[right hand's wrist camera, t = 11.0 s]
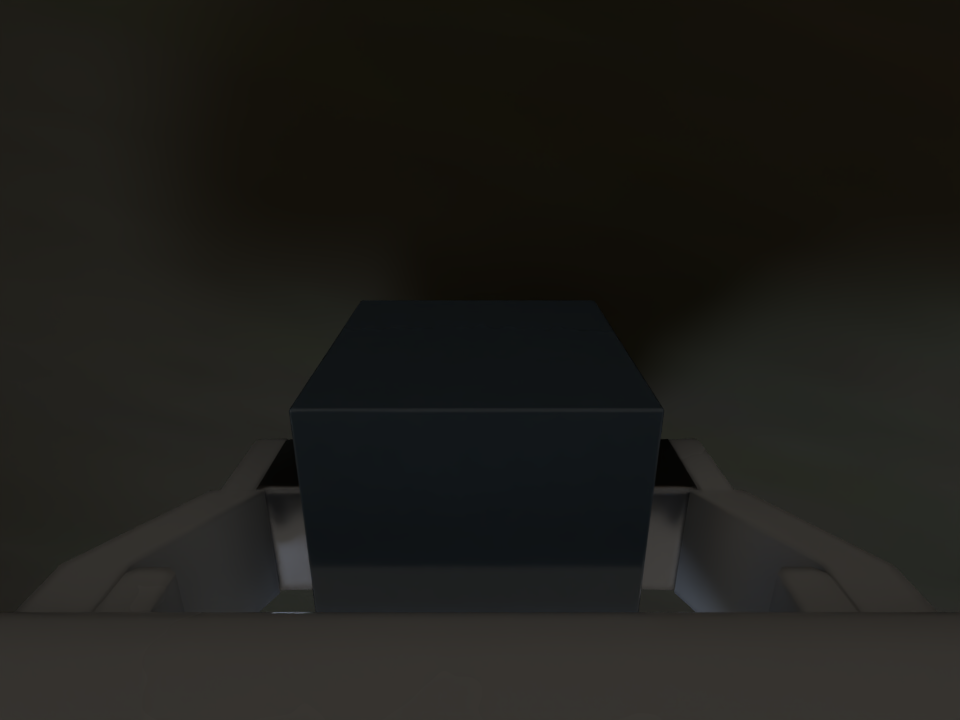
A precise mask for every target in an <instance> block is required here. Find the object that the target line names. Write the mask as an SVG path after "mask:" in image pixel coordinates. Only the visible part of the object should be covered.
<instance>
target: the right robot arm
mask: <svg viewBox="0 0 960 720" xmlns="http://www.w3.org/2000/svg"><path fill="white" fill-rule="evenodd" d="M297 589H313V588H312V580H311V573H310V565H309V558H308V550H307V543H306V535H305V528H304V520H303V513H302V505H301V498H300V490H299V483H298V475H297V467H296V460H295V452H294V445H293V439H290V440H288V439H260V440H256V441H255V442H254V443H253V445H252V446H251V447H250V449H249V450H248V452H247V453H246V454H245V456H244V457H243V459H242V460H241V461H240V463H239V464H238V466H237V467H236V468H235V470H234V471H233V473H232V474H231V475H230V477H229V478H228V480H227V481H226V482H225V484H224V485H223V487H222V488H221V489H220V490H210V491H208V492H206V493H204V494H202V495H200V496H198V497H196V498H194V499H192V500H190V501H188V502H186V503H184V504H182V505H180V506H178V507H176V508H174V509H172V510H170V511H168V512H166V513H164V514H161V515H159V516H157V517H155V518H153V519H151V520H149V521H147V522H145V523H143V524H141V525H139V526H137V527H135V528H133V529H131V530H129V531H127V532H125V533H123V534H121V535H119V536H117V537H115V538H113V539H111V540H109V541H107V542H105V543H103V544H101V545H99V546H97V547H95V548H93V549H91V550H89V551H86V552H84V553H82V554H80V555H78V556H76V557H74V558H72V559H70V560H68V561H66V562H64V563H62V564H60V565H59V566H58V567H57V568H56V569H55V570H54V571H53V572H52V573H51V574H50V576H49V577H48V578H47V579H46V580H45V581H44V582H43V583H42V584H41V585H40V586H39V587H38V588H37V589H36V590H35V591H34V592H33V593H32V594H31V595H30V596H29V597H28V599H27V600H26V601H25V602H24V603H23V604H22V605H21V606H20V607H19V608H18V609H17V610H16V611H15V612H0V720H960V612H937V611H936V610H935V609H934V608H933V607H932V606H931V605H930V603H929V602H928V601H927V600H926V599H925V598H924V597H923V596H922V595H921V594H920V593H919V592H918V591H917V589H916V588H915V587H914V586H913V585H912V584H911V583H910V582H909V581H908V580H907V579H906V578H905V577H904V576H903V574H902V573H901V572H900V571H899V570H898V569H897V568H896V567H895V566H894V565H892V564H890V563H888V562H886V561H884V560H882V559H880V558H878V557H876V556H874V555H872V554H870V553H868V552H866V551H864V550H862V549H860V548H858V547H856V546H854V545H852V544H850V543H848V542H846V541H844V540H842V539H840V538H838V537H836V536H834V535H832V534H830V533H828V532H826V531H824V530H822V529H820V528H818V527H816V526H814V525H812V524H810V523H808V522H806V521H804V520H802V519H800V518H798V517H796V516H794V515H792V514H790V513H788V512H786V511H784V510H782V509H780V508H778V507H776V506H774V505H772V504H770V503H768V502H766V501H764V500H762V499H760V498H758V497H756V496H754V495H752V494H750V493H748V492H746V491H744V490H734V489H733V488H732V486H731V485H730V483H729V482H728V481H727V479H726V478H725V476H724V475H723V474H722V472H721V471H720V469H719V468H718V467H717V465H716V464H715V462H714V461H713V459H712V458H711V457H710V455H709V454H708V452H707V451H706V450H705V448H704V447H703V445H702V444H701V442H700V441H699V440H697V439H694V438H692V439H669V440H668V439H660V447H659V455H658V463H657V471H656V479H655V486H654V494H653V502H652V510H651V518H650V526H649V533H648V541H647V549H646V557H645V565H644V573H643V581H642V588H641V589H656V590H675V591H674V593H676V594H677V595H678V596H679V597H680V598H681V599H682V600H683V601H684V602H685V603H686V604H688V605H689V606H690V607H691V608H692V609H693V610H694V611H695V612H259V611H261V610H262V609H263V608H264V607H265V606H266V605H267V604H268V603H269V602H271V601H272V600H273V599H274V598H275V597H276V596H277V595H278V594H279V593H280V590H297Z"/></svg>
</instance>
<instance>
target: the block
mask: <svg viewBox="0 0 960 720" xmlns="http://www.w3.org/2000/svg"><path fill="white" fill-rule="evenodd" d="M289 415H290V422H291V430H292V437H293V445H294V452H295V460H296V467H297V475H298V483H299V490H300V498H301V505H302V513H303V520H304V528H305V535H306V543H307V550H308V558H309V565H310V573H311V580H312V588H313V596H314V603H315V611H316V612H639V604H640V596H641V588H642V581H643V573H644V565H645V557H646V549H647V541H648V533H649V526H650V518H651V510H652V502H653V494H654V486H655V479H656V471H657V463H658V455H659V447H660V439H661V432H662V424H663V416H664V409H663V407H662V406H661V404H660V403H659V401H658V399H657V398H656V396H655V395H654V393H653V392H652V390H651V388H650V387H649V385H648V384H647V382H646V381H645V379H644V377H643V376H642V374H641V373H640V371H639V370H638V368H637V367H636V365H635V363H634V362H633V360H632V359H631V357H630V356H629V354H628V352H627V351H626V349H625V348H624V346H623V345H622V343H621V341H620V340H619V338H618V337H617V335H616V334H615V332H614V330H613V329H612V327H611V326H610V324H609V323H608V321H607V320H606V318H605V316H604V315H603V313H602V312H601V310H600V309H599V307H598V305H597V304H596V302H595V301H593V300H400V301H399V300H398V301H361V302H360V303H359V305H358V306H357V308H356V309H355V311H354V312H353V314H352V315H351V317H350V318H349V320H348V321H347V323H346V324H345V326H344V327H343V329H342V330H341V332H340V333H339V335H338V337H337V338H336V340H335V341H334V343H333V344H332V346H331V347H330V349H329V350H328V352H327V353H326V355H325V356H324V358H323V359H322V361H321V362H320V364H319V365H318V367H317V368H316V370H315V371H314V373H313V374H312V376H311V377H310V379H309V380H308V382H307V383H306V385H305V386H304V388H303V389H302V391H301V392H300V394H299V395H298V397H297V398H296V400H295V402H294V403H293V405H292V406H291V408H290V410H289Z"/></svg>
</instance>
